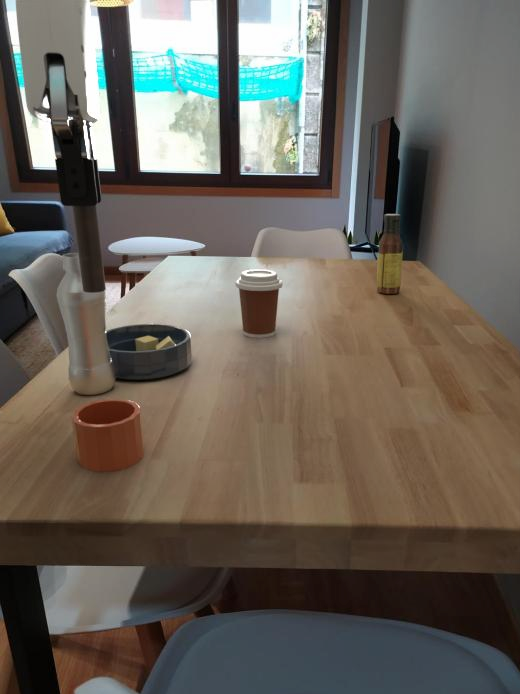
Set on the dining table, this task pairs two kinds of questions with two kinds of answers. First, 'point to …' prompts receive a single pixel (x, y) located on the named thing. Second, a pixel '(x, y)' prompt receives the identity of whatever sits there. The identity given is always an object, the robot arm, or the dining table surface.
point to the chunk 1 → (146, 343)
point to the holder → (108, 435)
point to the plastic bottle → (85, 332)
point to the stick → (89, 247)
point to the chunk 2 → (165, 343)
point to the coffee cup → (259, 302)
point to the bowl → (148, 362)
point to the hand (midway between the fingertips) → (82, 202)
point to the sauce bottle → (390, 257)
